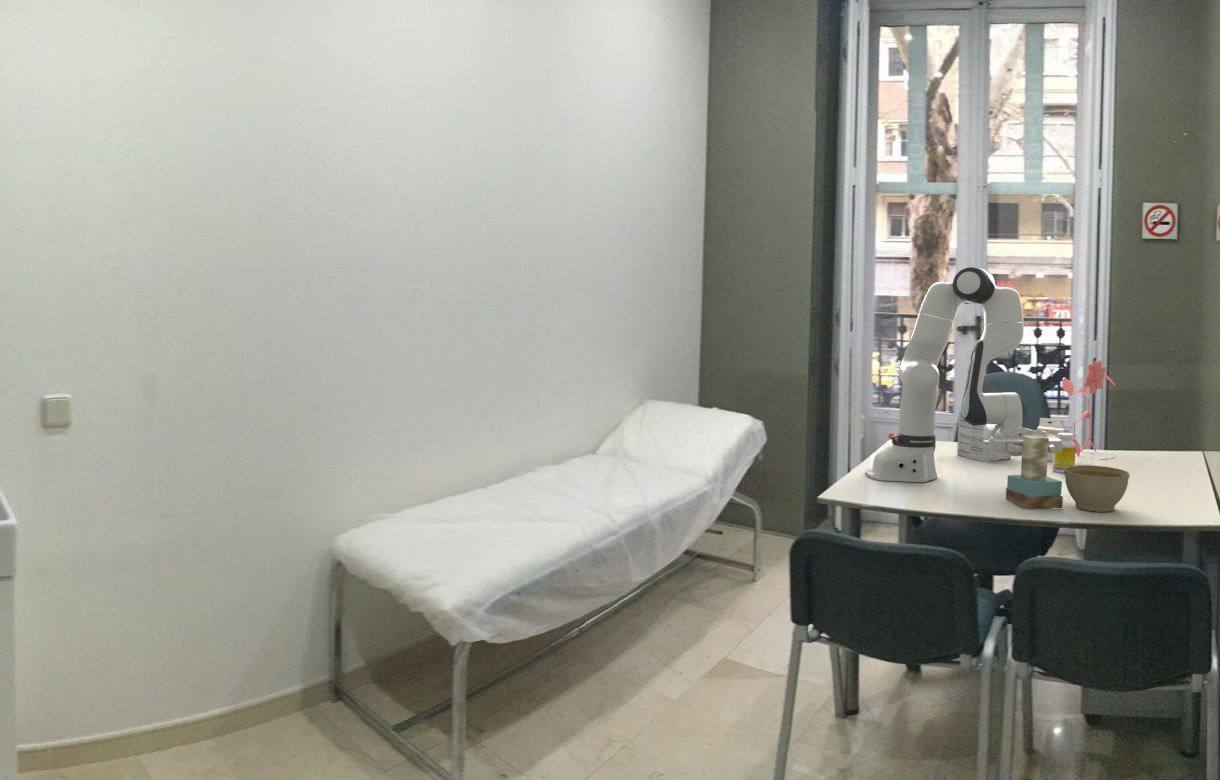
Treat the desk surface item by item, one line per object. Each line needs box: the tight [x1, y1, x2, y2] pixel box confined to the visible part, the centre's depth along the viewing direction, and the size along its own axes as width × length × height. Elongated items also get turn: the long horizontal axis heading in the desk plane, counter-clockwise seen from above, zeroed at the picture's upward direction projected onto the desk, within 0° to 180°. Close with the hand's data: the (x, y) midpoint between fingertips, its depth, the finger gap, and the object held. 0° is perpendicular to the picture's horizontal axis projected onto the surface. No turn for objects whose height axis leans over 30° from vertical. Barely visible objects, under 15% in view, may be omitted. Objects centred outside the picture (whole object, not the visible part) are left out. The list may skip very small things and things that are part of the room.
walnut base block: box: [1005, 487, 1064, 510], centre depth 256 cm, size 11×11×4 cm
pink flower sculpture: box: [1061, 359, 1117, 461], centre depth 322 cm, size 15×26×35 cm, turn 121°
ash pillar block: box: [1020, 435, 1049, 480], centre depth 255 cm, size 5×5×12 cm
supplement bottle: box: [1051, 432, 1076, 474], centre depth 298 cm, size 7×7×13 cm
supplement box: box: [956, 407, 1012, 462], centre depth 322 cm, size 13×13×18 cm
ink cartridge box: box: [1036, 417, 1065, 462], centre depth 316 cm, size 9×5×15 cm, turn 58°
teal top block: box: [1006, 474, 1063, 497], centre depth 255 cm, size 10×10×4 cm
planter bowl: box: [1064, 464, 1130, 513], centre depth 251 cm, size 16×16×11 cm
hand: (1036, 449), depth 253 cm, fingers open, 8 cm apart
